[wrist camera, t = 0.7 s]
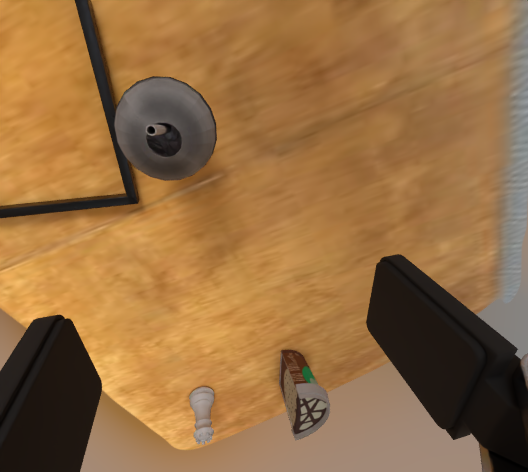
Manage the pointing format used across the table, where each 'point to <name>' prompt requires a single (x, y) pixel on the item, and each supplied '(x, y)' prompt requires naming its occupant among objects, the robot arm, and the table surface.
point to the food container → (302, 395)
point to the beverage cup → (165, 128)
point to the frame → (110, 111)
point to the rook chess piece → (202, 413)
